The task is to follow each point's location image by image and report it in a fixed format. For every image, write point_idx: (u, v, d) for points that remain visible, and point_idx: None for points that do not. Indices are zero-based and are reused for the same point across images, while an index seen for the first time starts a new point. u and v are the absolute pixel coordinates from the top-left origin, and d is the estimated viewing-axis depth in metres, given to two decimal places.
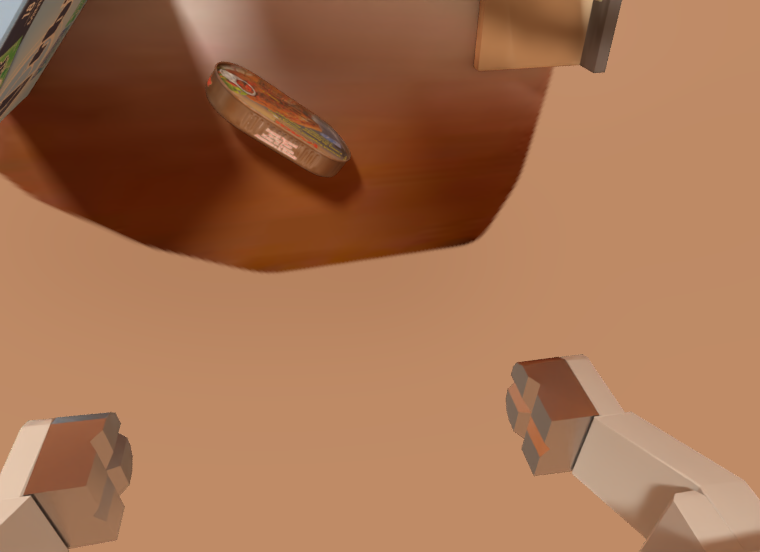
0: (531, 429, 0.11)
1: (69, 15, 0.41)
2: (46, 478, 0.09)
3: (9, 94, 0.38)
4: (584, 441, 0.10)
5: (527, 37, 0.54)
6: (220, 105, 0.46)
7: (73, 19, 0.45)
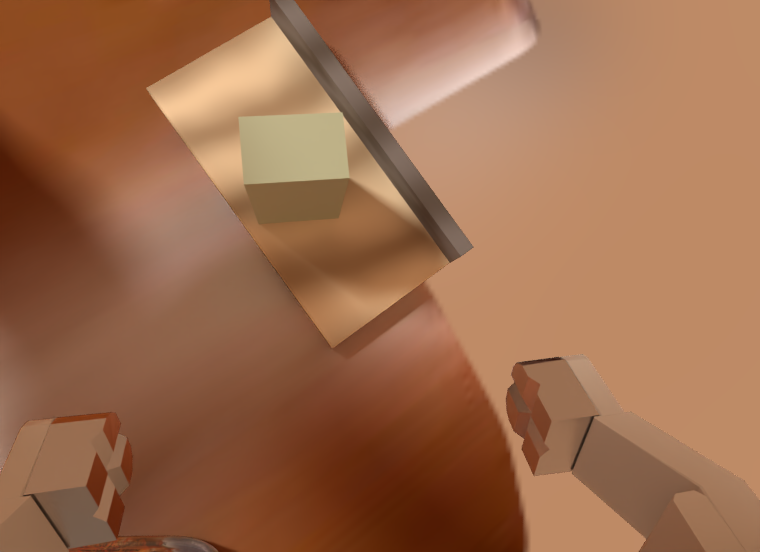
0: (531, 429, 0.11)
1: None
2: (46, 478, 0.09)
3: None
4: (584, 441, 0.10)
5: (361, 277, 0.40)
6: None
7: None
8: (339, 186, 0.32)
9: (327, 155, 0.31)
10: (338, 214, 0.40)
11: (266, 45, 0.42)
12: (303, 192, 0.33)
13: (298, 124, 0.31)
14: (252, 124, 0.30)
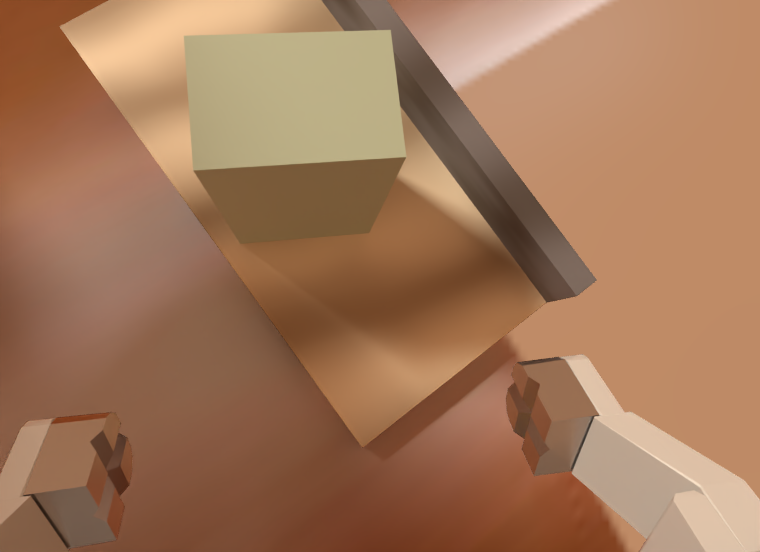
0: (531, 429, 0.11)
1: None
2: (46, 479, 0.09)
3: None
4: (584, 441, 0.10)
5: (406, 329, 0.25)
6: None
7: None
8: (382, 175, 0.17)
9: (361, 113, 0.16)
10: (370, 227, 0.24)
11: None
12: (314, 187, 0.17)
13: (304, 52, 0.16)
14: (212, 51, 0.15)
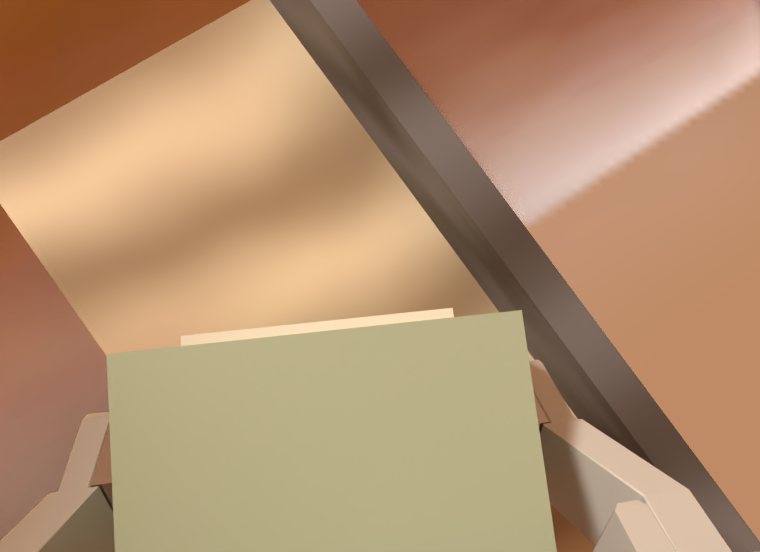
0: None
1: None
2: None
3: None
4: None
5: None
6: None
7: None
8: None
9: (471, 498, 0.08)
10: None
11: (253, 56, 0.19)
12: None
13: (354, 371, 0.08)
14: (165, 384, 0.07)
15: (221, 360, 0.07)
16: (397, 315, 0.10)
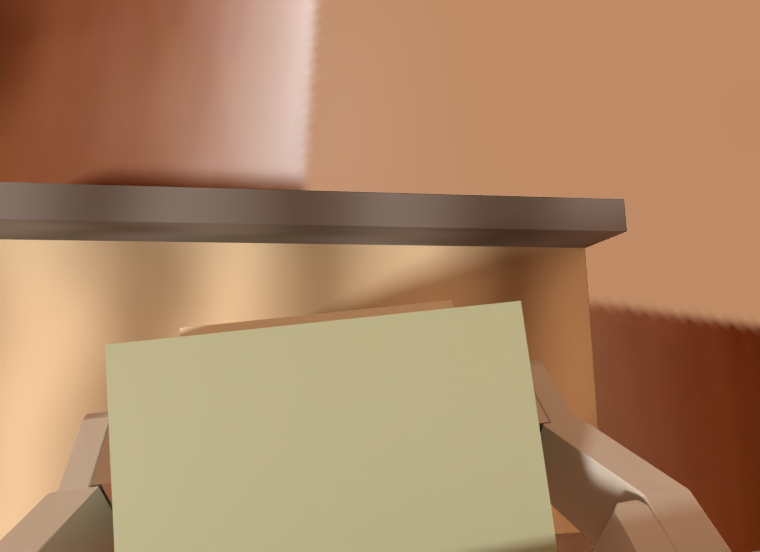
0: None
1: None
2: None
3: None
4: None
5: None
6: None
7: None
8: None
9: (469, 487, 0.08)
10: None
11: (8, 285, 0.19)
12: None
13: (353, 361, 0.08)
14: (164, 375, 0.07)
15: (219, 351, 0.07)
16: (396, 307, 0.10)
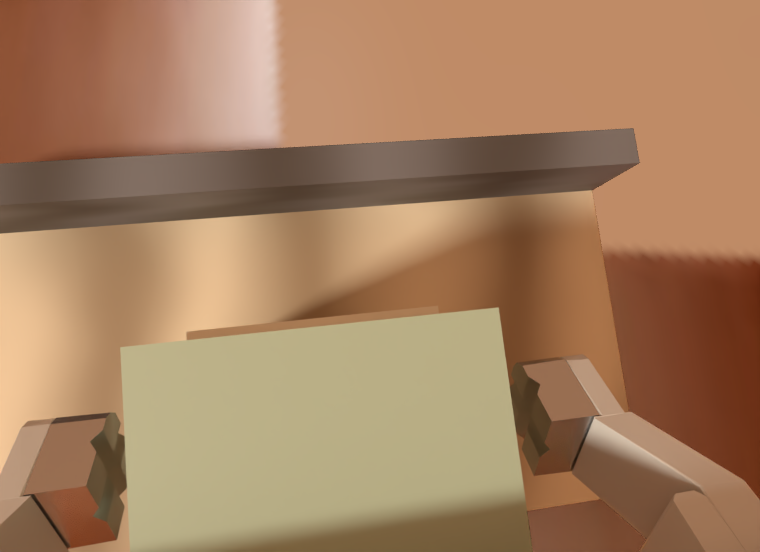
0: (531, 429, 0.11)
1: None
2: (46, 478, 0.09)
3: None
4: (584, 441, 0.10)
5: None
6: None
7: None
8: None
9: (450, 477, 0.08)
10: None
11: None
12: None
13: (345, 362, 0.08)
14: (173, 374, 0.08)
15: (224, 353, 0.08)
16: (386, 312, 0.10)
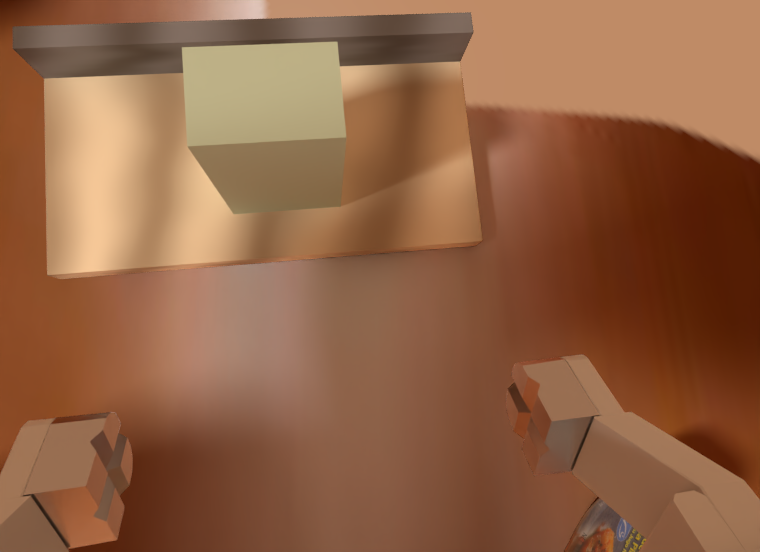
0: (531, 429, 0.11)
1: None
2: (46, 479, 0.09)
3: None
4: (584, 441, 0.10)
5: (422, 164, 0.31)
6: None
7: None
8: (333, 153, 0.22)
9: (313, 104, 0.21)
10: (339, 200, 0.29)
11: (78, 105, 0.30)
12: (282, 162, 0.23)
13: (271, 58, 0.21)
14: (202, 58, 0.21)
15: (222, 52, 0.21)
16: None
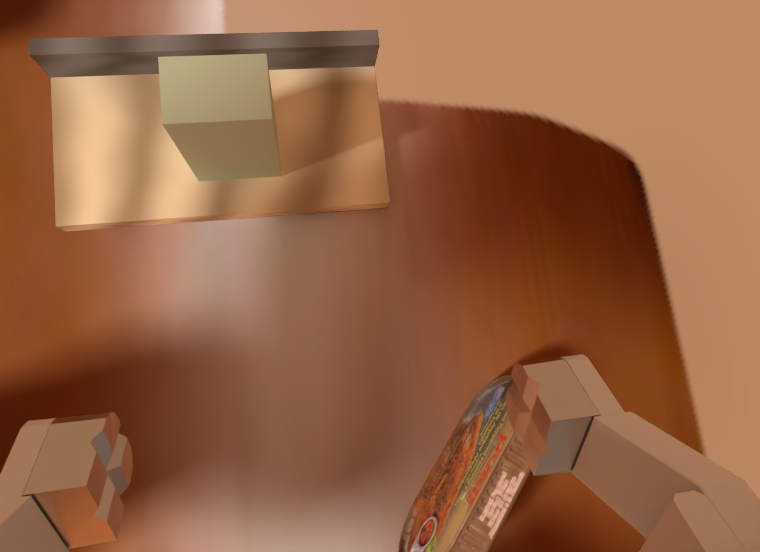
0: (531, 429, 0.11)
1: None
2: (46, 478, 0.09)
3: None
4: (584, 441, 0.10)
5: (344, 144, 0.41)
6: None
7: None
8: (265, 130, 0.32)
9: (249, 96, 0.30)
10: (279, 170, 0.39)
11: (78, 98, 0.39)
12: (230, 137, 0.32)
13: (220, 65, 0.30)
14: (172, 64, 0.30)
15: (186, 60, 0.30)
16: None
